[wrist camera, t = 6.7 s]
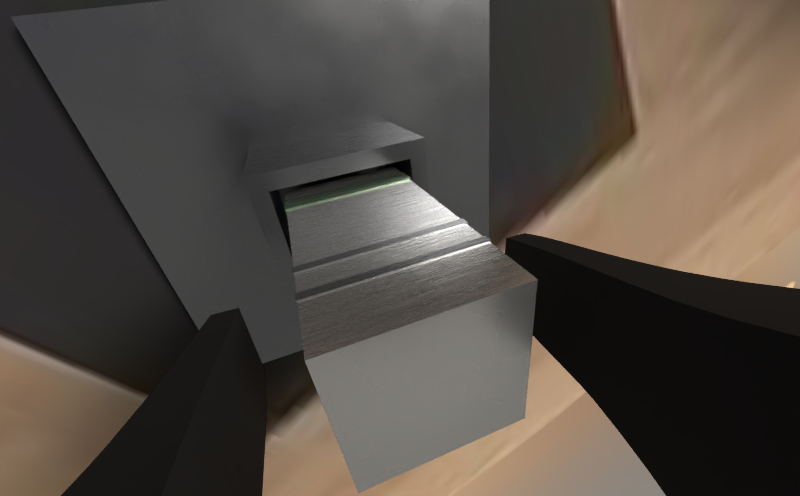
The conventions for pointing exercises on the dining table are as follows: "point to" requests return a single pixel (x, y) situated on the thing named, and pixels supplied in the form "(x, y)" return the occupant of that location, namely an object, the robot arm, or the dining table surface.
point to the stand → (267, 125)
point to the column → (406, 322)
